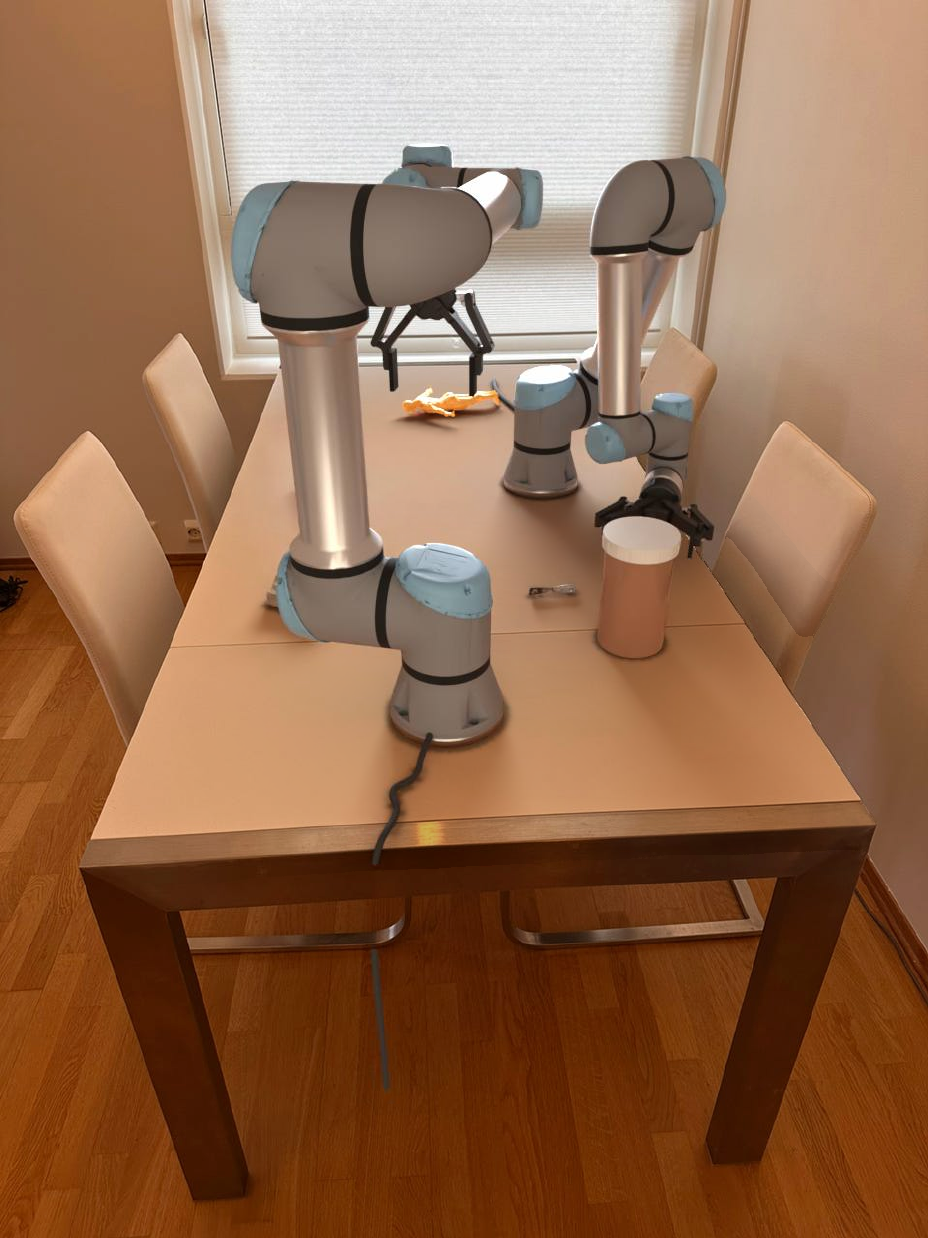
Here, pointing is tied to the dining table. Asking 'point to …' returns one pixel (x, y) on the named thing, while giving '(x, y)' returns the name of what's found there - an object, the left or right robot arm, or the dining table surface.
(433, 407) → the human figure
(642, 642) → the jar
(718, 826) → the dining table surface
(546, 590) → the putty knife
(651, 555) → the lid
